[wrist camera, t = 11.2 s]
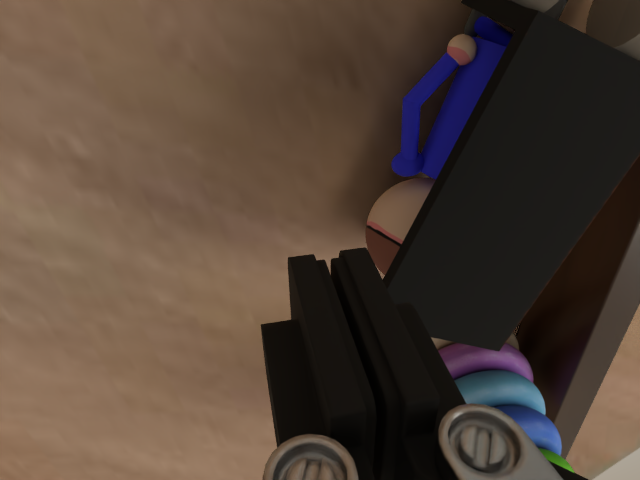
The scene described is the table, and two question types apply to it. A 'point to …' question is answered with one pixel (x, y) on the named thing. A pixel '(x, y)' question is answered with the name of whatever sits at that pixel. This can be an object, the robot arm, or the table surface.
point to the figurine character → (508, 163)
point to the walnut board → (586, 311)
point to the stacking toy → (503, 389)
